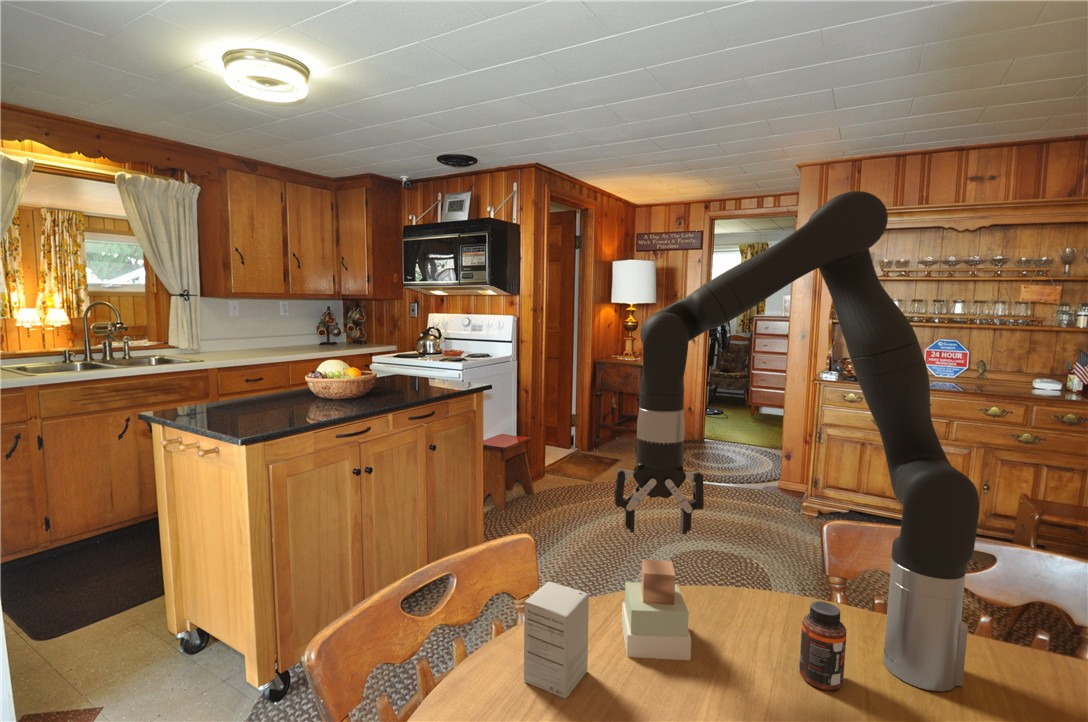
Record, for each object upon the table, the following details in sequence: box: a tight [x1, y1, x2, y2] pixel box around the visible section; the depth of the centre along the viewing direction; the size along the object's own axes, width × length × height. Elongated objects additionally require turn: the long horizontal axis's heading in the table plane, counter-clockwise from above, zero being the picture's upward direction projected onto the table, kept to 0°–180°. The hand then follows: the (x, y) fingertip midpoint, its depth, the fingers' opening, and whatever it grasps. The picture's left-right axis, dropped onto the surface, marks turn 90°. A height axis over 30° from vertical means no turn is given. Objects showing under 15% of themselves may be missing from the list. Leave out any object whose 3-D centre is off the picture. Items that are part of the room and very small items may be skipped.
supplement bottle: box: [799, 600, 847, 691], centre depth 81 cm, size 6×6×11 cm
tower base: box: [621, 601, 692, 661], centre depth 91 cm, size 10×10×4 cm
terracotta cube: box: [640, 558, 676, 605], centre depth 90 cm, size 5×5×5 cm
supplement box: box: [523, 581, 590, 699], centre depth 81 cm, size 7×7×13 cm
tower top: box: [624, 581, 690, 636], centre depth 91 cm, size 9×9×4 cm
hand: (657, 531), depth 90 cm, fingers open, 8 cm apart
